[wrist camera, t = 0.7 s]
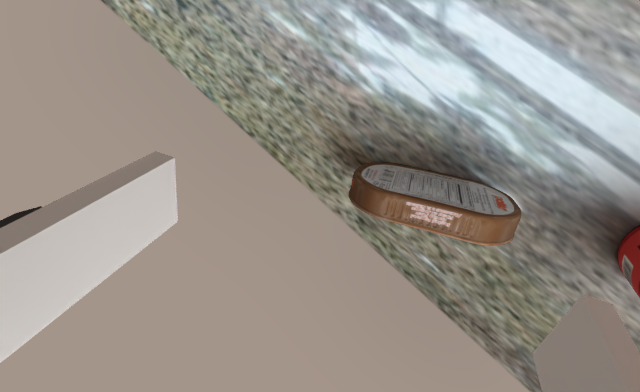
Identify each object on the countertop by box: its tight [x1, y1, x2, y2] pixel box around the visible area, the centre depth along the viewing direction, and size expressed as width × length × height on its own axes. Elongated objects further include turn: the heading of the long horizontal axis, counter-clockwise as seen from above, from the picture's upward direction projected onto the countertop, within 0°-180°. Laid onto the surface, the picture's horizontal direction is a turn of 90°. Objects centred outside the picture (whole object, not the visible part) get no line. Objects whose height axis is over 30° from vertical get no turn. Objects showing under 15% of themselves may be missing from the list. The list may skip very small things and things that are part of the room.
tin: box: [349, 162, 521, 246], centre depth 32 cm, size 15×3×8 cm, turn 83°
